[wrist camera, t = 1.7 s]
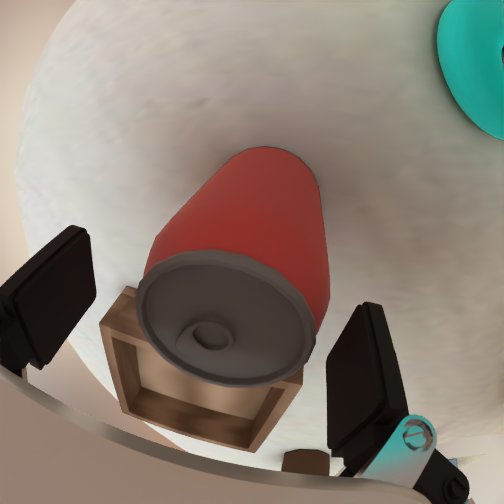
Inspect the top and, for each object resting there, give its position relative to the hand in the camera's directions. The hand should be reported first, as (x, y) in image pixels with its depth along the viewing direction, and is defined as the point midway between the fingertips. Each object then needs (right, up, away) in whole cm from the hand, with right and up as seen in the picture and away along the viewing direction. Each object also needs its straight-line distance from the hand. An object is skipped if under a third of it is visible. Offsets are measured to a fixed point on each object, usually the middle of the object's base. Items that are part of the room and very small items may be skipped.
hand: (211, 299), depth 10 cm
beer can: (+2, +5, +9) cm, 11 cm away
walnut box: (-4, -10, +19) cm, 22 cm away
